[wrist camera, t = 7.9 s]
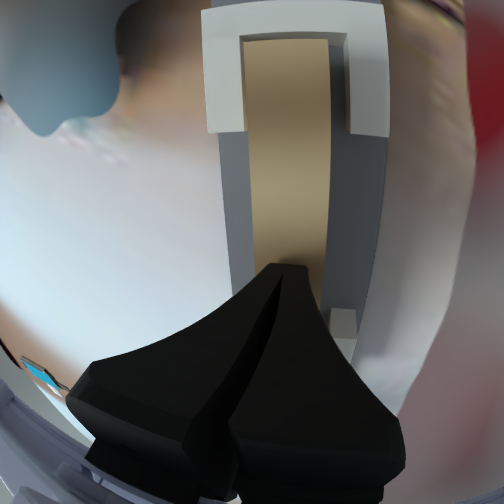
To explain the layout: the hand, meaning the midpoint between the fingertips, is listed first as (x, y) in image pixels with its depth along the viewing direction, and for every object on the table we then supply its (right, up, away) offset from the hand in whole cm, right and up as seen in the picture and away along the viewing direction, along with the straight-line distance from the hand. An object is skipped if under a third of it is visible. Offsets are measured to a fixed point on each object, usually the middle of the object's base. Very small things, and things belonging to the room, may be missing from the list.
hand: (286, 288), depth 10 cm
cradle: (+2, +3, +5) cm, 6 cm away
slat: (+1, +3, +4) cm, 5 cm away
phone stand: (-46, -26, +36) cm, 64 cm away
